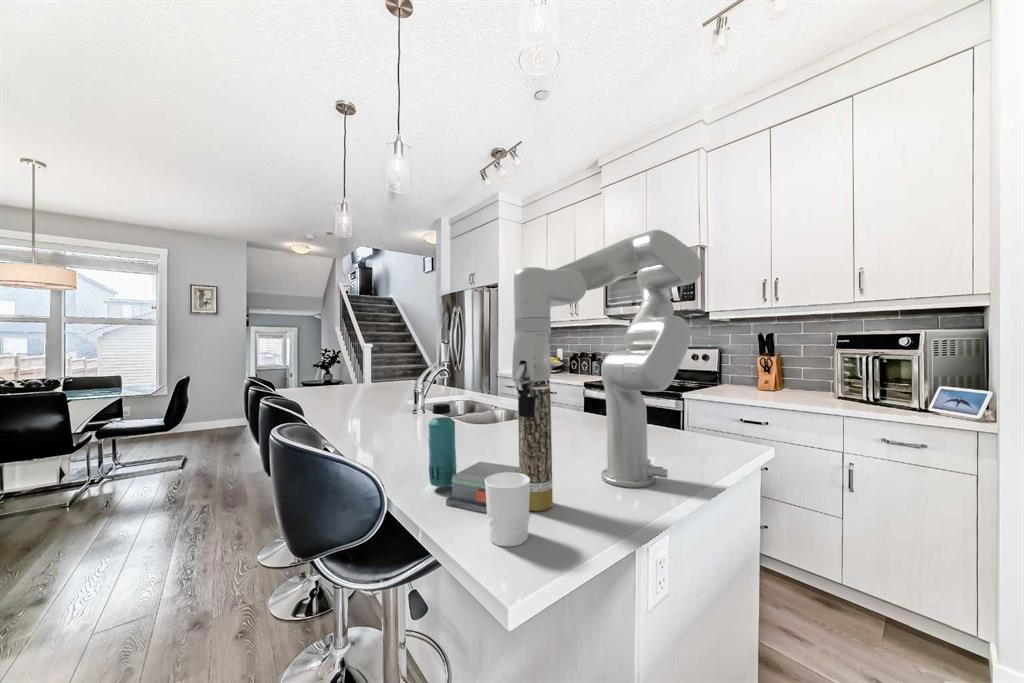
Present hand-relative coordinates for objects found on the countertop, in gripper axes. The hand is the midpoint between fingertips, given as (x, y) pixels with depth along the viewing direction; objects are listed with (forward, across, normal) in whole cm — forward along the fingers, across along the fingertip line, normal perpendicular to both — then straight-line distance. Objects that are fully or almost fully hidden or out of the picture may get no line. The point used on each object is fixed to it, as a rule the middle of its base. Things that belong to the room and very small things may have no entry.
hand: (534, 412), depth 81 cm
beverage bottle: (+20, 0, -24) cm, 31 cm away
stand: (+19, +1, -11) cm, 22 cm away
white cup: (+20, +14, +1) cm, 24 cm away
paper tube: (+19, 0, 0) cm, 19 cm away
